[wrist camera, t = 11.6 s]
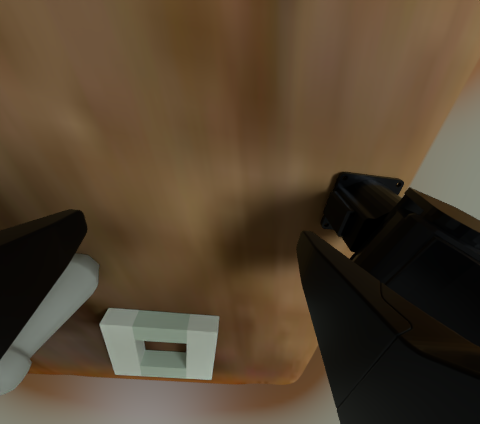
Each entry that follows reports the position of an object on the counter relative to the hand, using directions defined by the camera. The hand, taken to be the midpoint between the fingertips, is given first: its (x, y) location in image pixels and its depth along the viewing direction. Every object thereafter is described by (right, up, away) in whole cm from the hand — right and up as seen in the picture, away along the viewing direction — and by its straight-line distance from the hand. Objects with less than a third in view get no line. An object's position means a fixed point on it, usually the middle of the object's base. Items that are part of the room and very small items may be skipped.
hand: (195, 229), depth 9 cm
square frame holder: (-10, -20, +27) cm, 35 cm away
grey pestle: (-18, -6, +19) cm, 26 cm away
